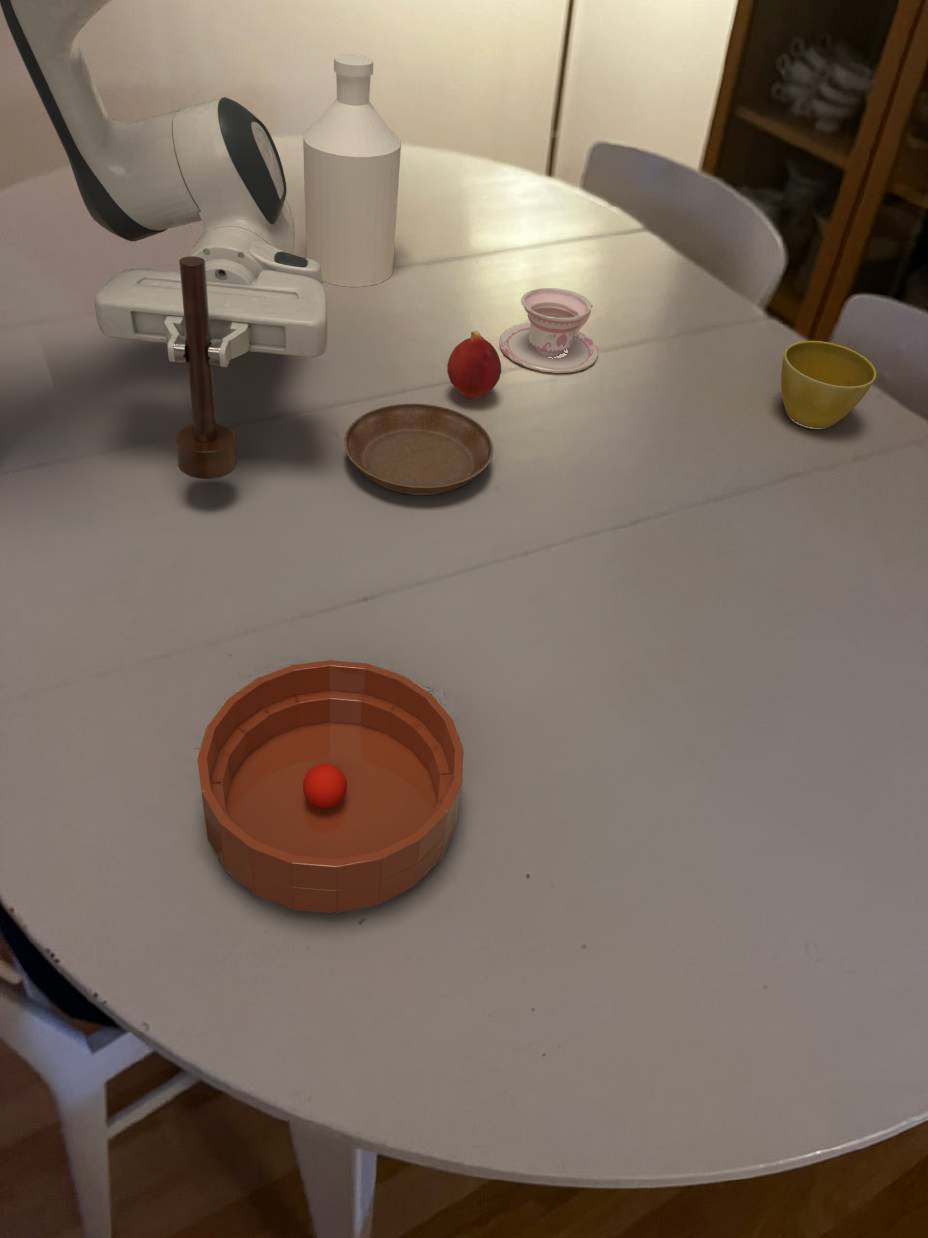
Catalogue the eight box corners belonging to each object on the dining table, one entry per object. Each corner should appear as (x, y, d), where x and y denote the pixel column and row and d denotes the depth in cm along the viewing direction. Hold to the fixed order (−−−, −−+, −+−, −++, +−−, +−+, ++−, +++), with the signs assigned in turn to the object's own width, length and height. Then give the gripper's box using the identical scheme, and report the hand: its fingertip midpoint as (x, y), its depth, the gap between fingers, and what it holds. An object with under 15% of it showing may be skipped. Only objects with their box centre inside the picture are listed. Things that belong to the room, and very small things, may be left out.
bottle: (309, 287, 129) (307, 72, 112) (300, 248, 138) (297, 42, 121) (401, 287, 132) (412, 77, 115) (387, 248, 140) (396, 46, 123)
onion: (491, 384, 116) (499, 319, 111) (501, 411, 112) (510, 345, 106) (441, 384, 115) (447, 318, 110) (449, 412, 111) (455, 345, 105)
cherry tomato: (363, 784, 70) (339, 801, 72) (337, 749, 70) (314, 767, 72) (336, 805, 68) (312, 822, 69) (309, 769, 68) (286, 787, 70)
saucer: (349, 510, 96) (350, 487, 94) (339, 425, 107) (339, 402, 105) (502, 507, 99) (505, 484, 97) (477, 424, 110) (479, 402, 108)
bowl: (179, 907, 65) (169, 853, 60) (233, 706, 77) (228, 650, 73) (449, 929, 65) (457, 877, 61) (459, 726, 78) (467, 672, 74)
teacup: (526, 381, 117) (534, 331, 113) (482, 332, 125) (488, 284, 121) (615, 367, 122) (626, 319, 117) (568, 321, 129) (576, 274, 125)
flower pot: (857, 450, 113) (881, 393, 108) (766, 433, 114) (785, 376, 109) (850, 405, 120) (872, 350, 116) (764, 389, 121) (783, 333, 116)
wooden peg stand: (170, 474, 91) (148, 267, 80) (189, 445, 95) (171, 245, 84) (227, 482, 91) (214, 276, 79) (243, 453, 95) (233, 253, 83)
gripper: (114, 240, 93) (65, 309, 83) (337, 263, 94) (316, 334, 84) (123, 305, 98) (78, 378, 88) (336, 326, 98) (316, 401, 88)
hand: (197, 357), depth 86 cm, fingers closed on wooden peg stand
